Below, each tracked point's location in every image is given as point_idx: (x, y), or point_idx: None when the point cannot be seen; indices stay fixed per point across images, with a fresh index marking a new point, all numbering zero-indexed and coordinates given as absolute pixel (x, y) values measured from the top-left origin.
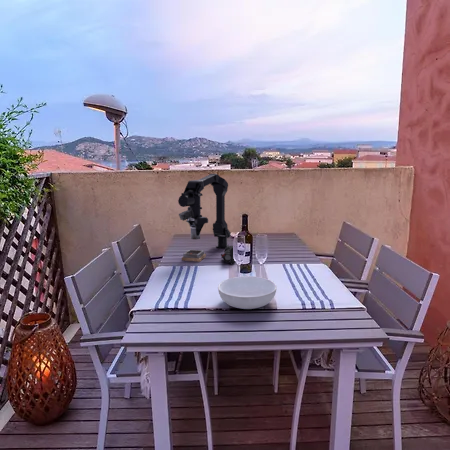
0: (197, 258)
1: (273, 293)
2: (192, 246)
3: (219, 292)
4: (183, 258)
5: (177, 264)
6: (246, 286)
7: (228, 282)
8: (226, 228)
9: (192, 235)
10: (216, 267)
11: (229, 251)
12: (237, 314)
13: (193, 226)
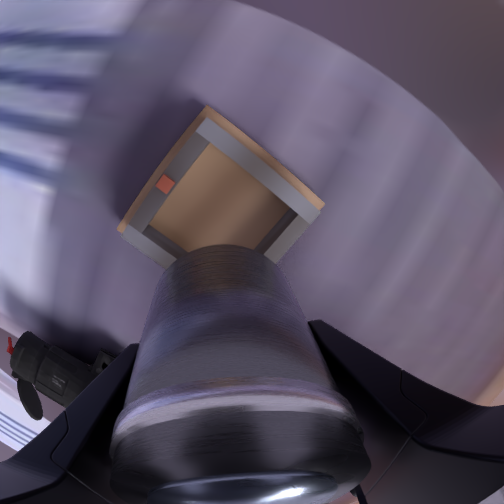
0: (131, 216)
1: None
2: (458, 282)
3: None
4: (197, 118)
5: (128, 62)
6: None
7: None
8: (354, 493)
9: (170, 287)
10: (14, 273)
11: (47, 394)
12: None
13: (121, 461)
